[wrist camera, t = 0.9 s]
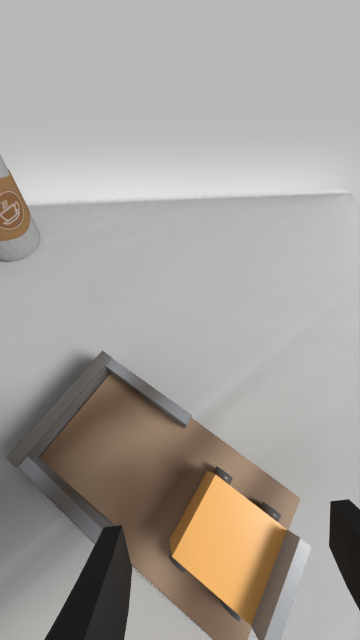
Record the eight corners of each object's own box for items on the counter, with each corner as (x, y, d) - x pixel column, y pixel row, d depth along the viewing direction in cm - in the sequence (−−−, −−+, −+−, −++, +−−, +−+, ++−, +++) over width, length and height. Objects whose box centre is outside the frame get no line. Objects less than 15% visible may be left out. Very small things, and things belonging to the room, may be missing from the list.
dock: (295, 497, 21) (324, 505, 16) (235, 652, 16) (254, 715, 12) (116, 367, 26) (103, 348, 22) (37, 461, 22) (3, 460, 18)
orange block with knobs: (286, 520, 19) (315, 535, 15) (247, 621, 16) (269, 674, 12) (210, 463, 20) (218, 462, 16) (164, 546, 18) (160, 570, 14)
